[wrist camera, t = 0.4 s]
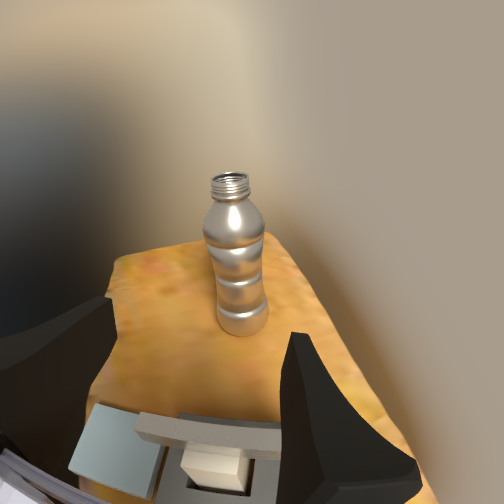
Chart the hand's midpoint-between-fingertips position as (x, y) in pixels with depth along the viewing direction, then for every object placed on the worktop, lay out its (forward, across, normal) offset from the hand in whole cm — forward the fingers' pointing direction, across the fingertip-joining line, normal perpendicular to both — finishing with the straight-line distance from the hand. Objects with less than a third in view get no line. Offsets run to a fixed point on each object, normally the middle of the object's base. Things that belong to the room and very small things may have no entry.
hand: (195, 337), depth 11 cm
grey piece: (+3, -4, +20) cm, 20 cm away
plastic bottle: (+24, -1, +17) cm, 29 cm away
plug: (+3, -2, +20) cm, 21 cm away
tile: (+4, +9, +22) cm, 24 cm away
